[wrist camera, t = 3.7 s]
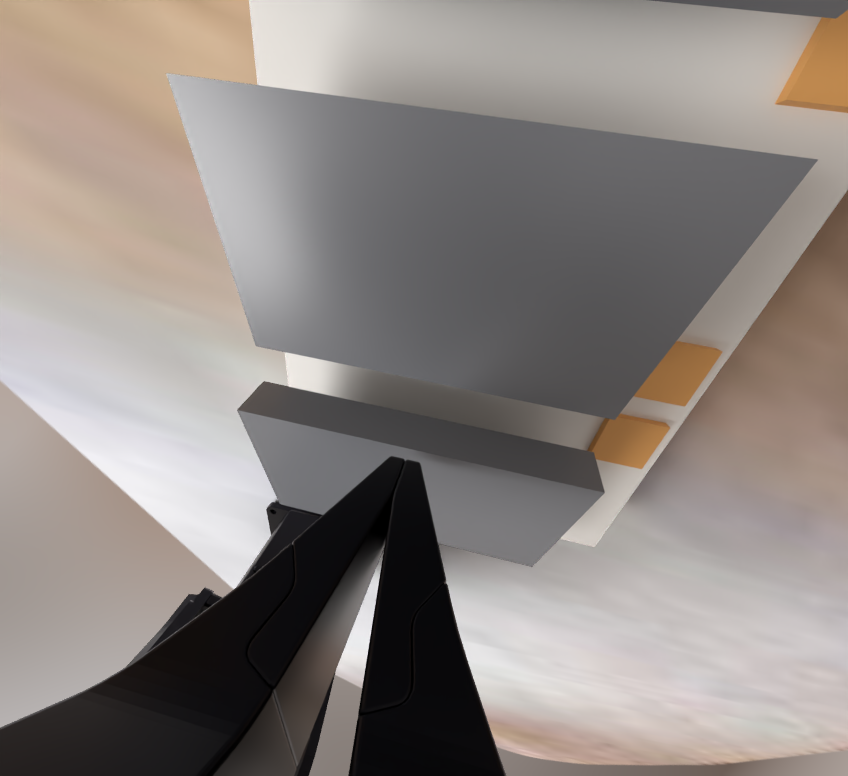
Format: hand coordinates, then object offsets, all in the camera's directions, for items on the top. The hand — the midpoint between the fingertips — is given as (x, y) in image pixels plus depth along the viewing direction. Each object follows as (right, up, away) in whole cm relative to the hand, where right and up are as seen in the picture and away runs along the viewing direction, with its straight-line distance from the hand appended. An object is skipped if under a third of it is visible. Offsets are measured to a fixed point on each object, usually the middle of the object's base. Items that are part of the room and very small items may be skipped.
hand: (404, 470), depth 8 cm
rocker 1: (+1, +6, 0) cm, 6 cm away
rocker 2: (0, -1, +4) cm, 4 cm away
